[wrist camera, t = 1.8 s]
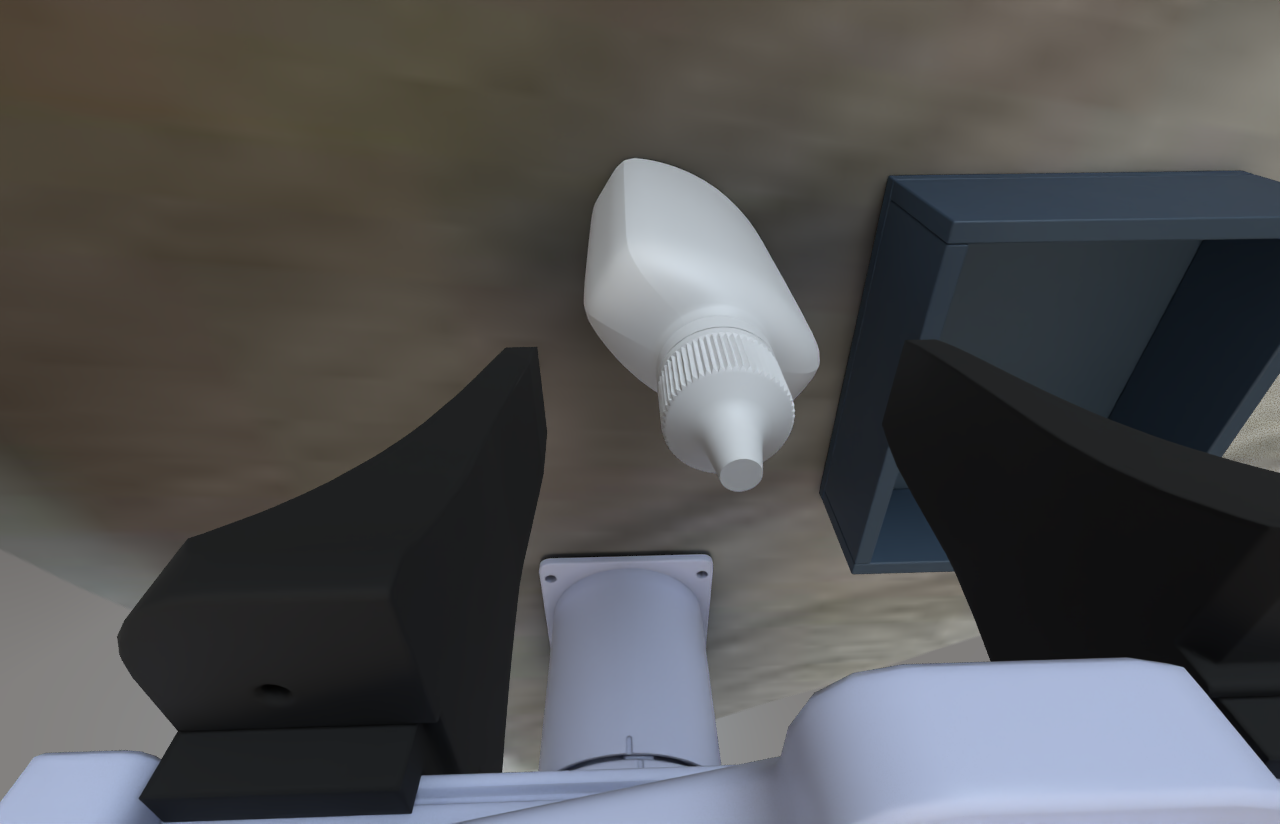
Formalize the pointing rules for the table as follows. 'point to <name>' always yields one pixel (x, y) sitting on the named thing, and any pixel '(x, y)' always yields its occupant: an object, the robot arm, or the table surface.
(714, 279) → the eye dropper bottle
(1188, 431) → the bin
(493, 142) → the table surface
